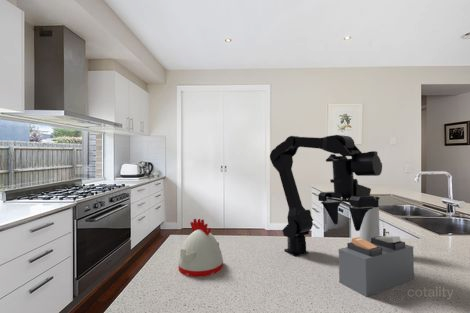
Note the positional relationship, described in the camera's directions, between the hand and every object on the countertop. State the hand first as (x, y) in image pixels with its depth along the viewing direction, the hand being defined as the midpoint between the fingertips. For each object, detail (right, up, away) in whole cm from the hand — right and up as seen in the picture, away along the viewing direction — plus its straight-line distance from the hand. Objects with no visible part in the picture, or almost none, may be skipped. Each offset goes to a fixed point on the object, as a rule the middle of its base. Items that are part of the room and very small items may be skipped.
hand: (346, 227), depth 75 cm
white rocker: (+10, -2, -4) cm, 11 cm away
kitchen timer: (-45, -14, +3) cm, 47 cm away
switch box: (+5, -13, -7) cm, 15 cm away
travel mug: (+15, -13, +15) cm, 25 cm away
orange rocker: (+1, -2, -9) cm, 9 cm away
